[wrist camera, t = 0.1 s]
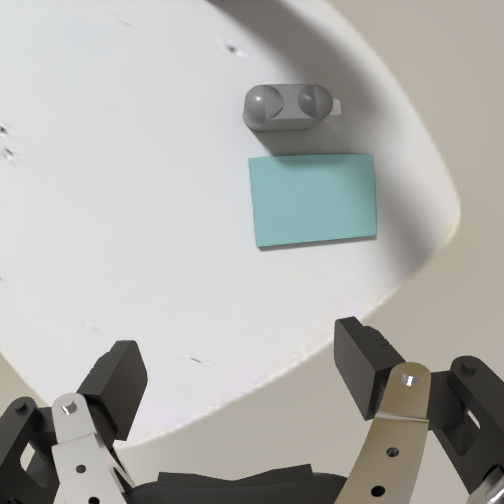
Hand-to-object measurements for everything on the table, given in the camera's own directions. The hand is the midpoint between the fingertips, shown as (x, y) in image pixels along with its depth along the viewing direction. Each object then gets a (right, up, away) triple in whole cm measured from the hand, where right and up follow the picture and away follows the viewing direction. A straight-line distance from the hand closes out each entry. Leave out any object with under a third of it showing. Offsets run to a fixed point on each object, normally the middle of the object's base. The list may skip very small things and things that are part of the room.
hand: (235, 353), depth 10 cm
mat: (+10, +12, +28) cm, 31 cm away
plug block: (+5, +23, +25) cm, 34 cm away
